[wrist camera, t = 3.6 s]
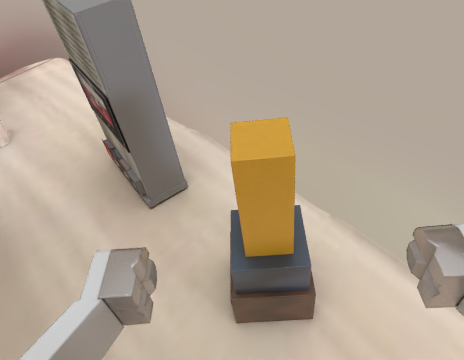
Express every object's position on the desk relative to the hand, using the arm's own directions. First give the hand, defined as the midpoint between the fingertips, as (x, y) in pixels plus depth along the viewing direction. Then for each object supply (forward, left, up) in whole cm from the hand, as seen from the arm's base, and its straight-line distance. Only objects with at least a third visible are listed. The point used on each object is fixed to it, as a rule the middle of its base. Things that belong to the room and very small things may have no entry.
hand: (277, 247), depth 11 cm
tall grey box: (-23, +27, -26) cm, 44 cm away
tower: (-3, +12, -25) cm, 28 cm away
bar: (-3, +12, -16) cm, 20 cm away
